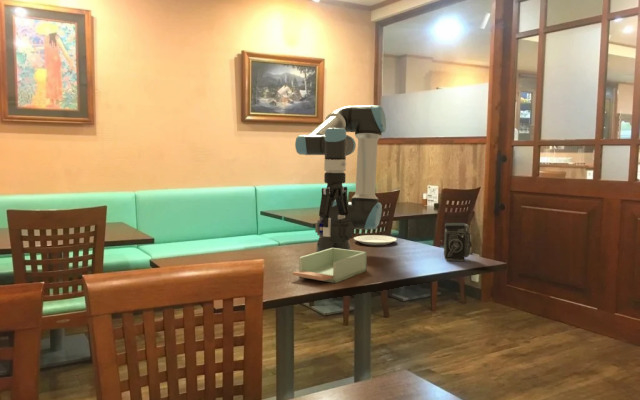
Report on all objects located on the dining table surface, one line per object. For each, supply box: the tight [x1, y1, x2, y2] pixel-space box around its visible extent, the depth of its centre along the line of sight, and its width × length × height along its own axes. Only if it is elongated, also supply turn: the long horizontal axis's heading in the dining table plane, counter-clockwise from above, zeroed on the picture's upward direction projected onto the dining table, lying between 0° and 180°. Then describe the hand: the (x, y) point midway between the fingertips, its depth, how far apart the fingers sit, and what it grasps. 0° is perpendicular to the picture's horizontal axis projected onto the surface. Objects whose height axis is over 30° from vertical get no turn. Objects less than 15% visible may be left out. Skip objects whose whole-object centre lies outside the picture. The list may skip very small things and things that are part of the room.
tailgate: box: [292, 270, 333, 281], centre depth 172 cm, size 12×1×7 cm
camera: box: [443, 222, 473, 262], centre depth 208 cm, size 10×10×15 cm
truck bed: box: [298, 248, 368, 284], centre depth 183 cm, size 15×22×7 cm
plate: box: [353, 234, 398, 246], centre depth 247 cm, size 21×21×2 cm
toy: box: [314, 216, 355, 244], centre depth 182 cm, size 9×9×15 cm
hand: (334, 234), depth 182 cm, fingers closed on toy, 9 cm apart
